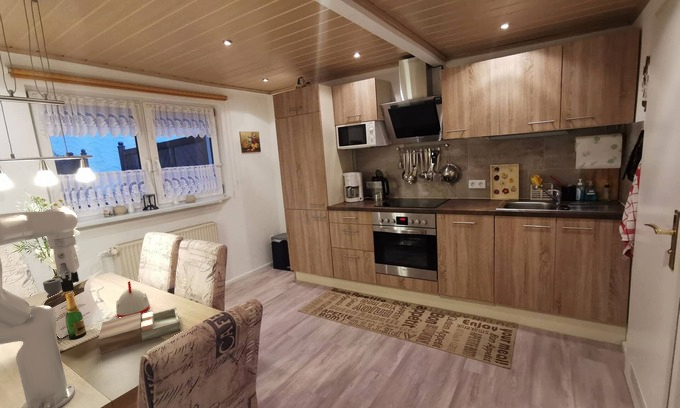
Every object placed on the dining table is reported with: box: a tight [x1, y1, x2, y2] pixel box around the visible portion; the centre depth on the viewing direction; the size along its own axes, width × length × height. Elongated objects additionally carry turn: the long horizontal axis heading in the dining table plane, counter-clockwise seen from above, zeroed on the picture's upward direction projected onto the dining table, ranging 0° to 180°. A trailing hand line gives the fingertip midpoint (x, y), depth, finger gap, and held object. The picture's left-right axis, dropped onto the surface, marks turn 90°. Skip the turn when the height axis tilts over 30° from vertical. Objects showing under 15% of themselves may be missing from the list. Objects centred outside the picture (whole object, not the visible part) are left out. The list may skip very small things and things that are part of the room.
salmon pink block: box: [141, 319, 154, 331], centre depth 136 cm, size 5×5×4 cm
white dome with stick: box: [115, 280, 151, 318], centre depth 159 cm, size 14×14×15 cm
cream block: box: [141, 310, 154, 327], centre depth 143 cm, size 5×5×4 cm
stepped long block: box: [97, 307, 181, 355], centre depth 139 cm, size 16×28×6 cm, turn 121°
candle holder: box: [42, 277, 62, 340], centre depth 139 cm, size 6×6×25 cm
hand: (71, 286), depth 120 cm, fingers open, 9 cm apart
